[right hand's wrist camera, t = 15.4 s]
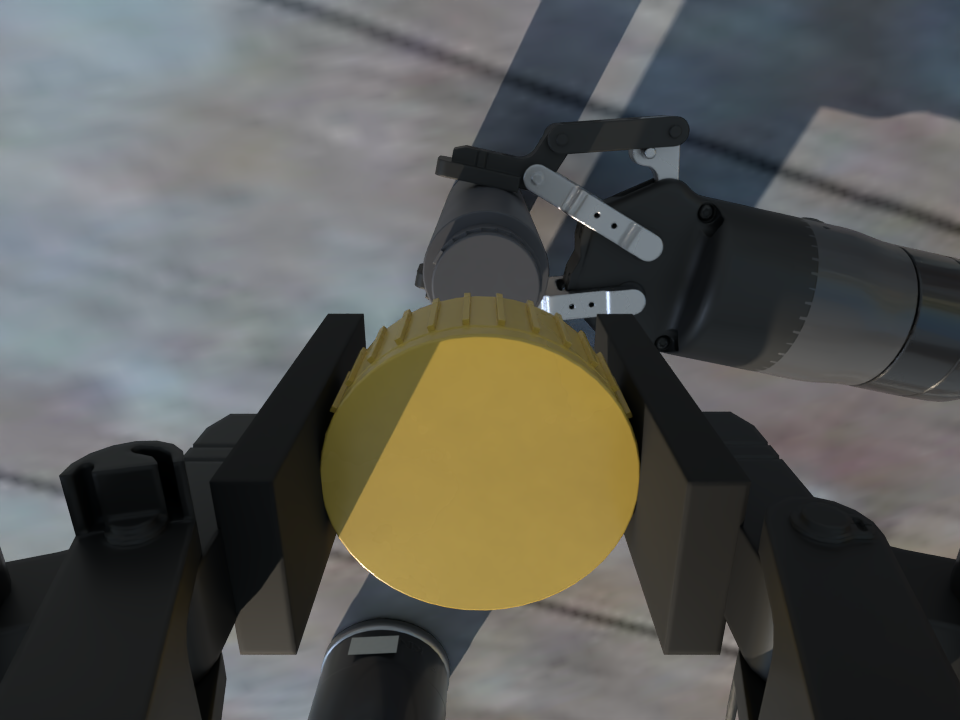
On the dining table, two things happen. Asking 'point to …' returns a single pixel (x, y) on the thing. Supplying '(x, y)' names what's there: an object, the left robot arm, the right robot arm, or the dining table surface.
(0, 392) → the dining table surface
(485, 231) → the dark grey cylinder
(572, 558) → the lid
